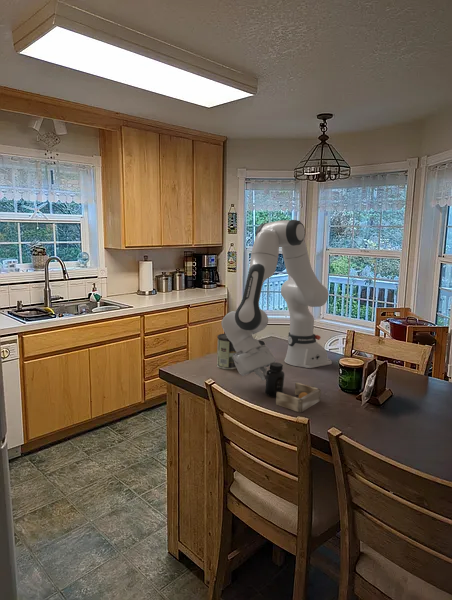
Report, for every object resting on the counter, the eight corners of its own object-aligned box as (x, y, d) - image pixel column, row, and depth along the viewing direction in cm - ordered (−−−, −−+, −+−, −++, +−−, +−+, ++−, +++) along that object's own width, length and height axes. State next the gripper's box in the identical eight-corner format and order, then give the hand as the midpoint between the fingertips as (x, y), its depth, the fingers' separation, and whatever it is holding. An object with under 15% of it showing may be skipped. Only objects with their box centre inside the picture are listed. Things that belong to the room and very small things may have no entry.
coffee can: (239, 362, 202) (240, 333, 199) (239, 370, 191) (240, 339, 189) (217, 361, 202) (217, 332, 199) (216, 369, 192) (217, 338, 189)
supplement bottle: (281, 391, 168) (284, 362, 165) (283, 398, 161) (286, 368, 159) (263, 389, 168) (267, 360, 165) (265, 396, 161) (268, 366, 159)
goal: (275, 404, 155) (276, 392, 155) (296, 393, 166) (297, 382, 166) (300, 412, 149) (301, 400, 148) (320, 400, 160) (321, 389, 159)
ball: (306, 400, 160) (305, 390, 159) (311, 403, 156) (311, 393, 156) (296, 402, 158) (296, 391, 158) (302, 405, 155) (301, 394, 154)
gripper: (235, 349, 160) (255, 381, 156) (267, 340, 176) (285, 369, 171) (225, 358, 164) (244, 389, 159) (257, 348, 179) (275, 376, 175)
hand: (266, 378), depth 165 cm, fingers closed, pressing on supplement bottle
